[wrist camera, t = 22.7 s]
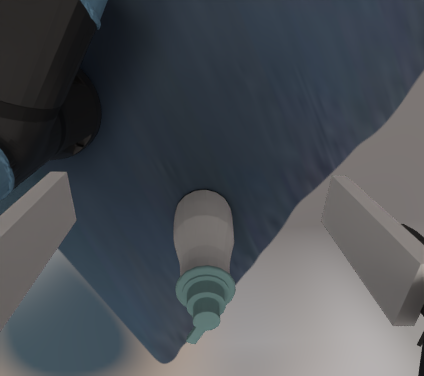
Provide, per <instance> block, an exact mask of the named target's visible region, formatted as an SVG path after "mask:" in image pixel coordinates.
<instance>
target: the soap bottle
mask: <svg viewBox="0 0 424 376" xmlns="http://www.w3.org/2000/svg"><path fill="white" fill-rule="evenodd" d="M174 244H175V249H176V252H177V256H178V259H179V263H180V278H179V279H178V281H177V284H176V287H175V290H176V294H177V298H178V300H179V301H180V302H181V303H182V304H183V305H184V306H186V307H187V311H188V312H189V314H190V315H191V316H193V324H194V328H193V329H192V331H191V332H190V333H189V335H188V336H187V340H186V342H188V343H191V344H196V343H197V341H198V340H199V339H200V337H201V336H202V335H203V333H204V332H205V331H207V330H212V329H215V328H216V327H217V326H219V324H220V315H221V314H222V313H223V312H224V310H225V306H226V305H227V304H228V303H229V302H230V301H231V300H232V298H233V296H234V294H235V281H234V280H233V278H232V277H231V275H230V272H229V265H230V259H231V254H232V249H233V245H234V234H233V221H232V214H231V209H230V207H229V205H228V203H227V202H226V200H225V198H223V197H222V196H220V195H219V194H218V193H216V192H213V191H209V190H199V191H194V192H192V193H190V194H188V195H186V196H185V197H184V198H183V199H182V200H181V201H180V202H179V203H178V206H177V209H176V212H175V218H174Z"/></svg>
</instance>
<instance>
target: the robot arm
mask: <svg viewBox="0 0 424 376" xmlns="http://www.w3.org/2000/svg"><path fill="white" fill-rule="evenodd" d="M107 1H108V0H0V200H1V199H4V198H5V197H7V196H8V195H9V194H10V192H11V191H12V190H13V189H14V188H16V187H17V186H18V185H19V184H20V183H22V182H23V181H24V180H25V179H27V178H28V177H29V176H30V175H32V174H33V173H34V172H35V171H36V170H38V169H39V168H40V167H41V166H43V165H44V164H45V163H46V162H48V161H49V160H56V159H63V158H67V157H70V156H73V155H75V154H77V153H79V152H80V151H82V150H83V149H84V148H85V147H86V146H87V145H88V144H89V143H90V142H91V141H92V140H93V139H94V137H95V136H96V134H97V132H98V130H99V127H100V123H101V105H100V101H99V97H98V94H97V92H96V90H95V88H94V86H93V84H92V82H91V81H90V79H89V78H88V77H87V75H86V74H85V73H84V72H83V71H82V70H81V69H80V68H79V67H80V65H81V62H82V60H83V58H84V56H85V53H86V51H87V49H88V47H89V44H90V42H91V40H92V37H93V35H94V33H95V31H96V30H99V29H100V26H101V22H100V19H101V17H102V14H103V12H104V9H105V6H106V4H107ZM75 222H76V215H75V210H74V205H73V200H72V196H71V191H70V186H69V181H68V176H67V172H49V173H48V174H47V175H46V176H45V177H44V178H43V179H42V180H40V181H39V182H38V183H37V184H36V185H35V186H34V187H32V188H31V189H30V190H29V191H28V192H27V193H26V194H24V195H23V196H22V197H21V198H20V199H19V200H18V201H16V202H15V203H14V204H13V205H12V206H11V207H10V208H8V209H7V210H6V211H5V212H4V213H3V214H2V215H0V331H1V330H2V329H3V327H4V325H5V324H6V323H7V321H8V320H9V318H10V317H11V315H12V314H13V312H14V311H15V310H16V308H17V307H18V305H19V304H20V302H21V301H22V299H23V298H24V296H25V295H26V294H27V292H28V291H29V289H30V288H31V286H32V285H33V283H34V282H35V280H36V279H37V277H38V276H39V274H40V273H41V272H42V270H43V269H44V267H45V266H46V264H47V263H48V261H49V260H50V258H51V257H52V255H53V254H54V252H55V251H56V250H57V248H58V247H59V245H60V244H61V242H62V241H63V239H64V238H65V236H66V235H67V233H68V232H69V230H70V229H71V228H72V226H73V225H74V223H75ZM321 222H322V223H323V225H324V226H325V228H326V229H327V231H328V232H329V234H330V235H331V236H332V238H333V239H334V241H335V242H336V244H337V245H338V247H339V248H340V250H341V251H342V253H343V254H344V256H345V257H346V258H347V260H348V261H349V263H350V264H351V266H352V267H353V269H354V270H355V272H356V273H357V274H358V276H359V277H360V279H361V280H362V282H363V283H364V285H365V286H366V287H367V289H368V290H369V292H370V293H371V295H372V296H373V298H374V299H375V301H376V302H377V303H378V305H379V306H380V308H381V309H382V311H383V312H384V314H385V315H386V317H387V318H388V319H389V321H390V322H391V324H392V325H393V326H414V325H415V323H416V321H417V319H418V317H419V315H420V313H421V314H422V315H423V316H424V237H423V236H421V235H420V234H419V233H418V232H417V231H415V230H414V229H412V228H410V227H408V226H406V225H404V224H400V223H399V222H398V221H396V220H395V219H394V218H393V217H392V216H391V215H390V214H389V213H388V212H386V211H385V210H384V209H383V208H382V207H381V206H380V205H379V204H378V203H376V202H375V201H374V200H373V199H372V198H371V197H369V195H367V194H366V193H365V192H364V191H363V190H362V189H361V188H359V187H358V186H357V185H356V184H355V183H354V182H353V181H352V180H350V178H348V177H347V176H334V175H333V176H332V177H331V181H330V186H329V189H328V194H327V198H326V202H325V207H324V211H323V215H322V219H321ZM422 344H423V345H422ZM417 345H418V346H421V345H422V352H421V360H420V367H419V375H418V376H424V332H423V334H422V336H421V338H420V339H419V342H418V344H417Z"/></svg>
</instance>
